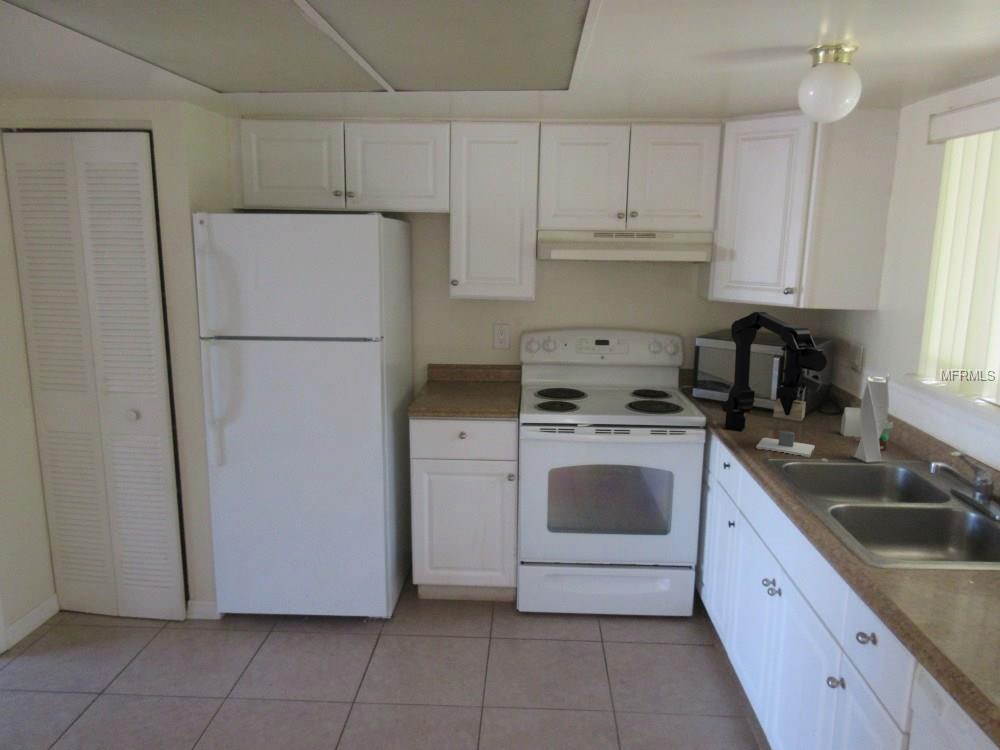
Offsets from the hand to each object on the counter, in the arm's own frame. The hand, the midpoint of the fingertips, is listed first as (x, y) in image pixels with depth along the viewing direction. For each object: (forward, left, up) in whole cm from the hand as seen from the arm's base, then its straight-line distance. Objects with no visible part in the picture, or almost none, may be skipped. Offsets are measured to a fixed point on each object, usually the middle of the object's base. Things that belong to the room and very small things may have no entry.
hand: (789, 413), depth 216 cm
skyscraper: (+24, +2, -12) cm, 27 cm away
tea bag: (+17, +32, -12) cm, 38 cm away
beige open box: (0, 0, -1) cm, 1 cm away
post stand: (0, 0, -12) cm, 12 cm away
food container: (+26, +20, -12) cm, 35 cm away
